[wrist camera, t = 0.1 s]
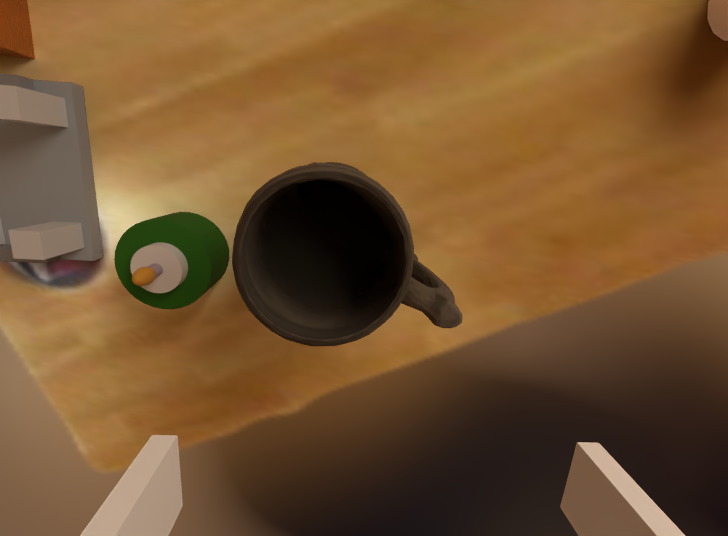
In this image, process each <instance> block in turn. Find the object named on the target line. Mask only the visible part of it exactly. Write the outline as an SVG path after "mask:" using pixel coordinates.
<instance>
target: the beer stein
mask: <svg viewBox="0 0 728 536" xmlns="http://www.w3.org/2000/svg"><path fill="white" fill-rule="evenodd" d="M232 265H233V270H234V275H235V280H236V284H237V287H238V290H239V292H240V294H241V297H242V299H243V301H244V302H245V304H246V305H247V307H248V309H249V310H250V311H251V313H252V314H253V315H254V316H255V317H256V318H257V319H258V320H259V321H260V322H261V323H262V324H264V325H265V326H266V327H267V328H268V329H270V330H271V331H272V332H274V333H276V334H278V335H279V336H281V337H283V338H284V339H287V340H290V341H293V342H296V343H300V344H304V345H309V346H336V345H341V344H345V343H349V342H353V341H356V340H358V339H360V338H363V337H365V336H367V335H369V334H370V333H372V332H373V331H374V330H376V329H377V328H378V327H380V326H381V325H382V324H383V323H385V322H386V321H387V320H388V319H389V318H390V317H391V316H392V315H393V313H394V312H395V311H396V309H397V308H398V307H399V305H400V303H402V304H405V305H407V306H410V307H412V308H415V309H417V310H419V311H422V312H423V313H424V314H425V315H426V316H427V317H428V318H429V319H430V320H431V322H432V323H433V324H434V325H436V326H439V327H442V328H453V327H456V326H458V325H459V324H461V323H462V313H461V312H460V310H459V309H458V307H457V306H456V305H455V299H454V295H453V293H452V291H451V290H450V288H449V287H448V286H447V285H446V284H445V283H444V282H443V281H442V280H441V279H440V278H438V277H437V276H436V275H435V274H434V273H433V272H432V271H430V270H429V269H428V268H426V267H425V266H424V265H422V264H421V263H420V262H418V258H417V256H416V255H415V254H414V245H413V240H412V235H411V230H410V225H409V223H408V221H407V219H406V216H405V214H404V212H403V210H402V208H401V207H400V205H399V204H398V203H397V201H396V200H395V198H394V197H393V196H392V195H391V194H390V193H389V192H388V191H387V190H386V189H385V188H384V187H382V186H381V185H380V184H379V183H378V182H376V181H375V180H373V179H371V178H370V177H368V176H366V175H365V174H364V173H363V172H361V171H359V170H358V169H356V168H354V167H352V166H349V165H346V164H342V163H334V162H328V163H315V162H314V163H311V164H309V165H305V166H299V167H296V168H292V169H290V170H288V171H286V172H284V173H282V174H280V175H278V176H276V177H274V178H272V179H270V180H269V181H268V182H267V183H266V184H264V185H263V186H262V187H261V188H260V189H258V190H257V191H256V192H255V194H254V195H253V196H252V198H251V199H250V200H249V202H248V203H247V204H246V207H245V209H244V211H243V213H242V216H241V218H240V220H239V223H238V225H237V229H236V234H235V238H234V245H233V254H232Z"/></svg>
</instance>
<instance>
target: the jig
mask: <svg viewBox="0 0 728 536" xmlns="http://www.w3.org/2000/svg"><path fill="white" fill-rule="evenodd" d="M100 258H103V251H102V243H101V235H100V226H99V218H98V210H97V201H96V193H95V185H94V176H93V168H92V160H91V151H90V143H89V135H88V126H87V118H86V110H85V101H84V93H83V87H82V86H79V85H76V84H73V83H66V82H54V81H42V80H32V79H29V78H25V77H22V76H18V75H9V74H0V261H12V262H32V263H50V262H53V261H56V260H59V259H66V260H86V261H95V260H97V259H100Z"/></svg>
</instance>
